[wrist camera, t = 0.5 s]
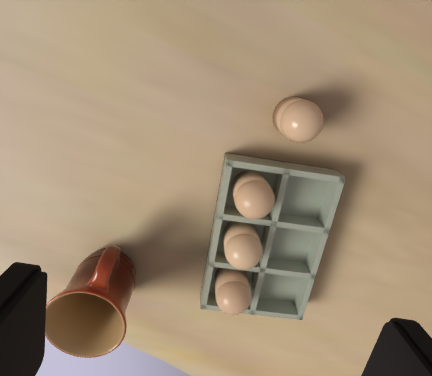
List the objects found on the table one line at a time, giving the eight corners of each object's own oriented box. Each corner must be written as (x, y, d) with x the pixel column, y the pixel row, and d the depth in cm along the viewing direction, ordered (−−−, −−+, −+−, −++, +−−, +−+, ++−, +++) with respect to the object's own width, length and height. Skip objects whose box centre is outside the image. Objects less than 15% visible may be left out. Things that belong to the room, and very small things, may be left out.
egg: (277, 93, 37) (291, 98, 31) (315, 100, 37) (335, 105, 31) (269, 132, 38) (280, 143, 32) (305, 138, 39) (323, 150, 33)
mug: (132, 304, 46) (112, 366, 36) (69, 285, 45) (32, 345, 35) (160, 233, 42) (146, 281, 33) (93, 210, 41) (59, 253, 31)
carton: (225, 152, 39) (229, 169, 33) (335, 169, 40) (360, 188, 34) (200, 293, 46) (199, 329, 39) (295, 303, 47) (310, 341, 40)
